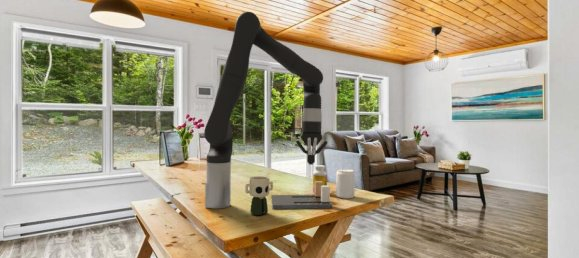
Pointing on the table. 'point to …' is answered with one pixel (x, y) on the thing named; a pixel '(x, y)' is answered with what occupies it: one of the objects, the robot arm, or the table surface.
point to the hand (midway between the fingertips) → (310, 164)
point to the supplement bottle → (319, 175)
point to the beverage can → (345, 183)
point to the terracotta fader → (318, 188)
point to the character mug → (259, 194)
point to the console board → (298, 202)
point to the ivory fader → (325, 193)
